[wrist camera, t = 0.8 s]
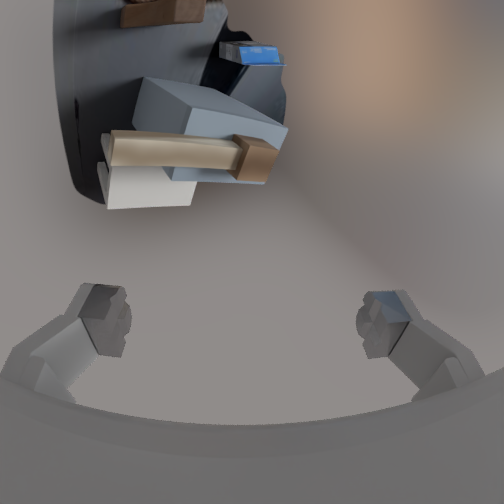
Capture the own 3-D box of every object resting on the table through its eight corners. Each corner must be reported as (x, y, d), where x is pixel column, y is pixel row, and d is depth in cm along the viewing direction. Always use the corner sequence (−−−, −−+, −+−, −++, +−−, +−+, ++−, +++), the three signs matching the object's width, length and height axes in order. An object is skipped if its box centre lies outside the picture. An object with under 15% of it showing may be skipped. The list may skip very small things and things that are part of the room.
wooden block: (119, 28, 33) (138, 23, 23) (121, 7, 30) (141, -7, 20) (166, 25, 37) (204, 22, 27) (168, 5, 34) (208, -5, 24)
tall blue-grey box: (143, 76, 43) (192, 107, 29) (213, 88, 53) (288, 128, 39) (131, 122, 49) (171, 181, 35) (199, 129, 59) (264, 184, 45)
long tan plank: (113, 121, 25) (118, 132, 22) (262, 138, 38) (279, 150, 36) (106, 162, 27) (110, 178, 25) (250, 168, 41) (265, 182, 39)
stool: (101, 133, 46) (112, 165, 38) (172, 136, 56) (201, 167, 48) (96, 168, 51) (107, 209, 42) (163, 168, 61) (190, 205, 52)
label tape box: (254, 41, 49) (290, 47, 42) (253, 56, 52) (288, 66, 45) (218, 41, 45) (250, 46, 39) (218, 58, 48) (249, 67, 42)
